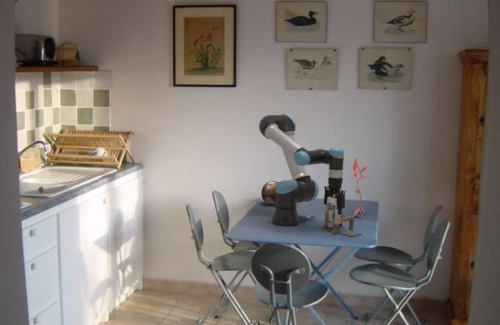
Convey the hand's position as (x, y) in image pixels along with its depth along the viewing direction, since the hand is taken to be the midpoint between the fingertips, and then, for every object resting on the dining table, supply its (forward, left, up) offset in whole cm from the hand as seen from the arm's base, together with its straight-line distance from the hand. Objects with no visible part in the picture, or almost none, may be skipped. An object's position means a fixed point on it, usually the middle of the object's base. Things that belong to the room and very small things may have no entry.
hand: (333, 219), depth 322 cm
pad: (+13, 0, -6) cm, 14 cm away
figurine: (-16, +34, -6) cm, 38 cm away
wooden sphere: (-62, +11, -6) cm, 64 cm away
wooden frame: (+4, 0, -6) cm, 7 cm away
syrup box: (0, 0, -3) cm, 3 cm away
